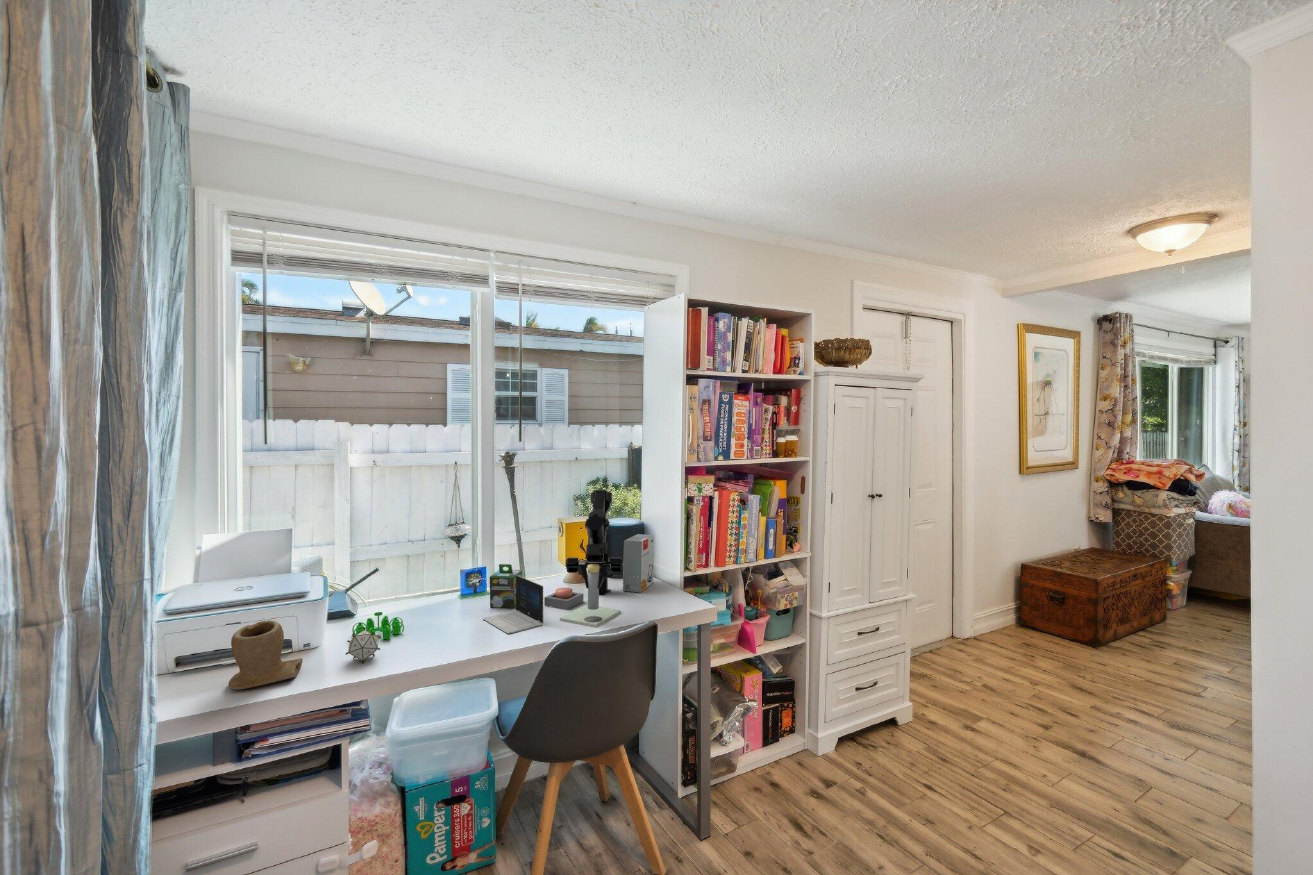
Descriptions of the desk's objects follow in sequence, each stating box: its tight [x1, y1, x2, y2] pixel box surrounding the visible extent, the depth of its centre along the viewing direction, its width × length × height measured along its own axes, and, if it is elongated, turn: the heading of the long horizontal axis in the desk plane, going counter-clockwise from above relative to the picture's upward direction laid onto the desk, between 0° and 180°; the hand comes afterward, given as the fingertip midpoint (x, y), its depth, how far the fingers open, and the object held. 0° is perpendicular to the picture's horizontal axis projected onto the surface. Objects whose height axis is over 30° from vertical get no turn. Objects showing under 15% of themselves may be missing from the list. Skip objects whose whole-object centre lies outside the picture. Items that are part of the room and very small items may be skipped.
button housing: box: [543, 591, 584, 611], centre depth 203 cm, size 10×10×3 cm
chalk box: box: [489, 563, 523, 610], centre depth 202 cm, size 9×9×15 cm
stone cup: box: [228, 619, 303, 691], centre depth 140 cm, size 15×12×15 cm
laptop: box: [482, 575, 544, 634], centre depth 184 cm, size 18×12×13 cm
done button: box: [555, 587, 574, 599], centre depth 203 cm, size 6×6×2 cm
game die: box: [344, 626, 382, 664], centre depth 154 cm, size 9×8×10 cm
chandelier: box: [351, 611, 405, 641], centre depth 172 cm, size 15×15×7 cm
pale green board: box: [559, 603, 622, 628], centre depth 190 cm, size 16×14×1 cm
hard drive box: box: [622, 533, 655, 593], centre depth 225 cm, size 16×8×20 cm, turn 161°
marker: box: [587, 564, 600, 610], centre depth 185 cm, size 4×4×14 cm
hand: (593, 587), depth 183 cm, fingers closed on marker, 4 cm apart
